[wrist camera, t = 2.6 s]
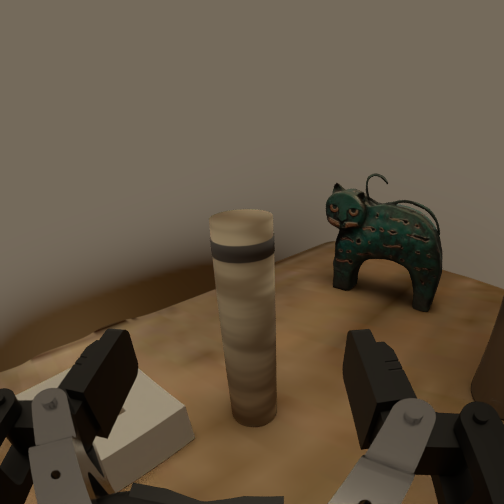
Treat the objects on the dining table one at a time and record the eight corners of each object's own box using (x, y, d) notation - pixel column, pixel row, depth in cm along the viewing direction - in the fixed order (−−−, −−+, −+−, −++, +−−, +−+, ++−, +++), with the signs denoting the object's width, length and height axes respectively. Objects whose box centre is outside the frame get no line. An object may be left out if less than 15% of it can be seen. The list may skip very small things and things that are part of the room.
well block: (124, 378, 34) (113, 345, 32) (195, 437, 26) (185, 405, 24) (25, 431, 24) (4, 400, 22) (73, 517, 16) (44, 492, 14)
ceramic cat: (321, 287, 54) (323, 170, 47) (338, 274, 59) (341, 167, 52) (429, 318, 42) (450, 186, 35) (437, 300, 46) (454, 181, 39)
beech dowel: (251, 389, 33) (238, 206, 25) (285, 406, 30) (286, 213, 23) (222, 413, 29) (194, 220, 22) (257, 434, 27) (243, 229, 19)
